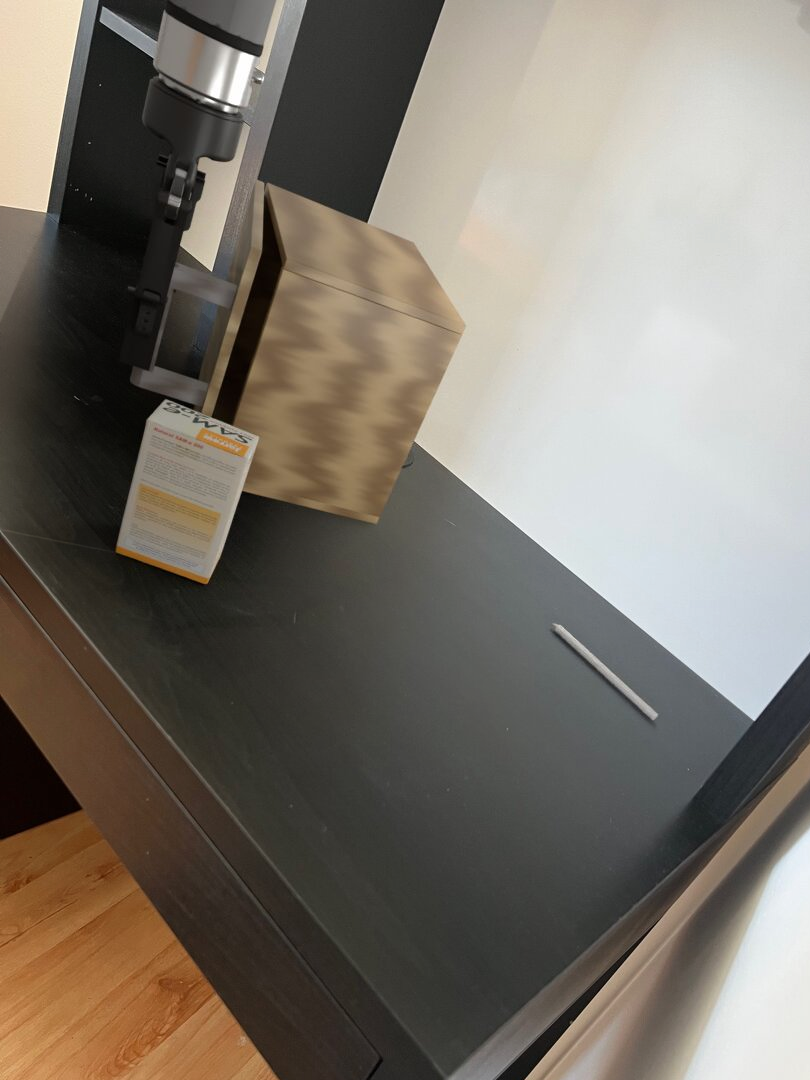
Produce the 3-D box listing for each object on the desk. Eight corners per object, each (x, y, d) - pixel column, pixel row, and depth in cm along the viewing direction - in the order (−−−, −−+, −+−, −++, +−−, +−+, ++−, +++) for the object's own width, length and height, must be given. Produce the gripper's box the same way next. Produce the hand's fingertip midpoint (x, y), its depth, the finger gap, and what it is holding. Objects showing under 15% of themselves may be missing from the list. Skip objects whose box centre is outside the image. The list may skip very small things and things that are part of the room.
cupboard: (213, 484, 86) (286, 258, 74) (209, 375, 106) (267, 182, 94) (376, 524, 94) (466, 325, 82) (344, 416, 114) (413, 242, 101)
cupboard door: (110, 454, 83) (169, 213, 70) (142, 352, 103) (192, 151, 91) (192, 478, 85) (262, 250, 73) (208, 374, 106) (264, 182, 94)
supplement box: (220, 559, 77) (263, 435, 70) (206, 587, 73) (250, 459, 66) (130, 525, 75) (165, 395, 69) (111, 552, 71) (146, 417, 65)
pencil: (555, 620, 93) (659, 715, 86) (550, 626, 93) (653, 721, 86) (554, 618, 92) (658, 713, 86) (548, 624, 92) (652, 720, 86)
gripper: (247, 130, 64) (171, 405, 76) (245, 99, 75) (180, 342, 87) (143, 85, 61) (81, 379, 73) (158, 60, 72) (103, 317, 84)
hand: (135, 358), depth 80 cm, fingers closed on cupboard door, 2 cm apart
